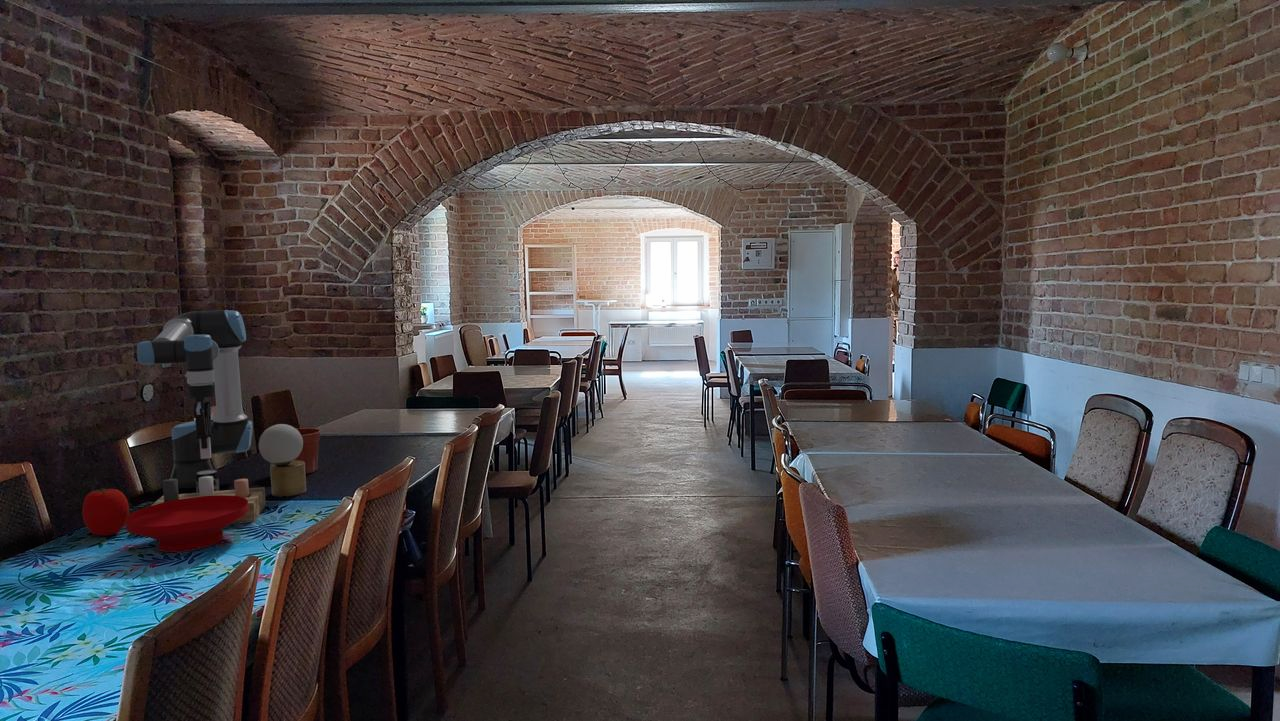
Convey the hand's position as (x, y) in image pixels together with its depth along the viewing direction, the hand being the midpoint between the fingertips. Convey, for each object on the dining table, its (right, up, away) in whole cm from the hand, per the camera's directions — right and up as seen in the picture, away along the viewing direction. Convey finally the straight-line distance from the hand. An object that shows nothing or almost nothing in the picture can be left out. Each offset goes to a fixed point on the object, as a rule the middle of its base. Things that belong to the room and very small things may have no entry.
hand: (206, 458), depth 244 cm
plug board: (0, -19, +2) cm, 19 cm away
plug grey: (0, -15, +1) cm, 15 cm away
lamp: (+12, -17, +29) cm, 35 cm away
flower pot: (+3, -14, +62) cm, 64 cm away
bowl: (+9, -22, -23) cm, 33 cm away
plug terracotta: (+9, -17, +4) cm, 19 cm away
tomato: (-22, -21, -13) cm, 33 cm away
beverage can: (-7, -18, +14) cm, 24 cm away
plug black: (-10, -16, -2) cm, 18 cm away
